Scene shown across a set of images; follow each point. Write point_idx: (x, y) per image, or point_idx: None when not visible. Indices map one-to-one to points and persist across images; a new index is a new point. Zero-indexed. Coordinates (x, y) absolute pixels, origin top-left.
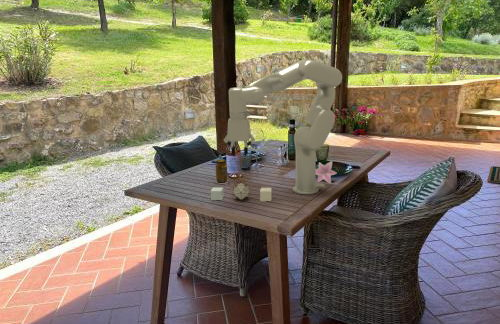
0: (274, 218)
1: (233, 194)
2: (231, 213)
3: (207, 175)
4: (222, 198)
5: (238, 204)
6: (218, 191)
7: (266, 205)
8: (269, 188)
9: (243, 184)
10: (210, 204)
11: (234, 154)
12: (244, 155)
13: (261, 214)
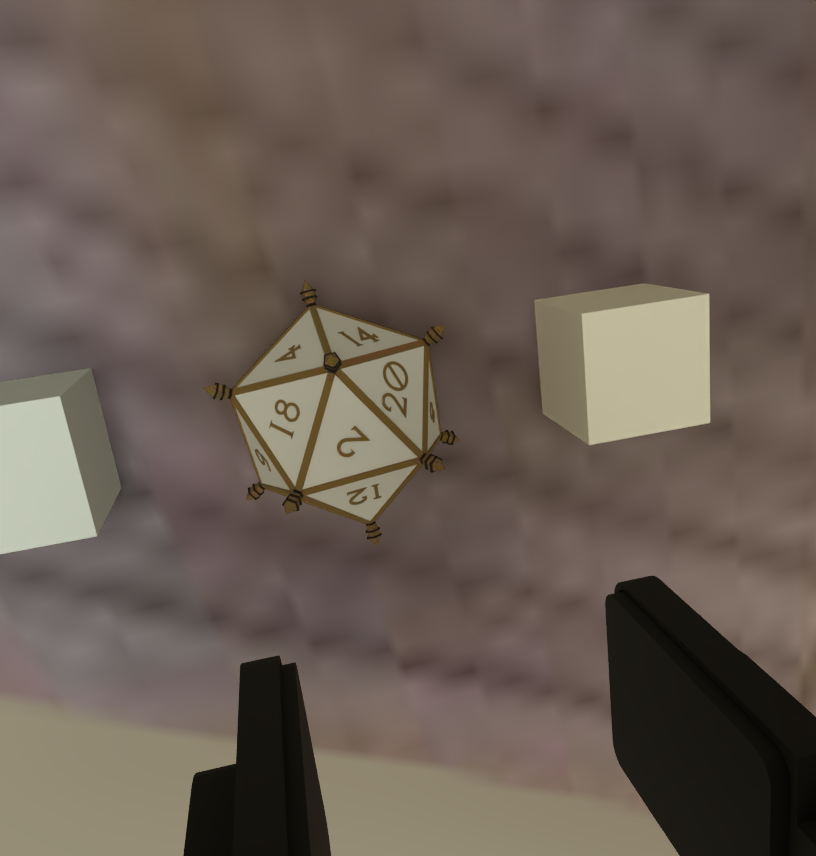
0: None
1: (262, 492)
2: (344, 748)
3: None
4: (107, 450)
5: (342, 540)
6: (58, 542)
7: (617, 503)
8: (686, 321)
9: (385, 428)
10: (36, 609)
11: (328, 852)
12: (628, 767)
13: (601, 699)
